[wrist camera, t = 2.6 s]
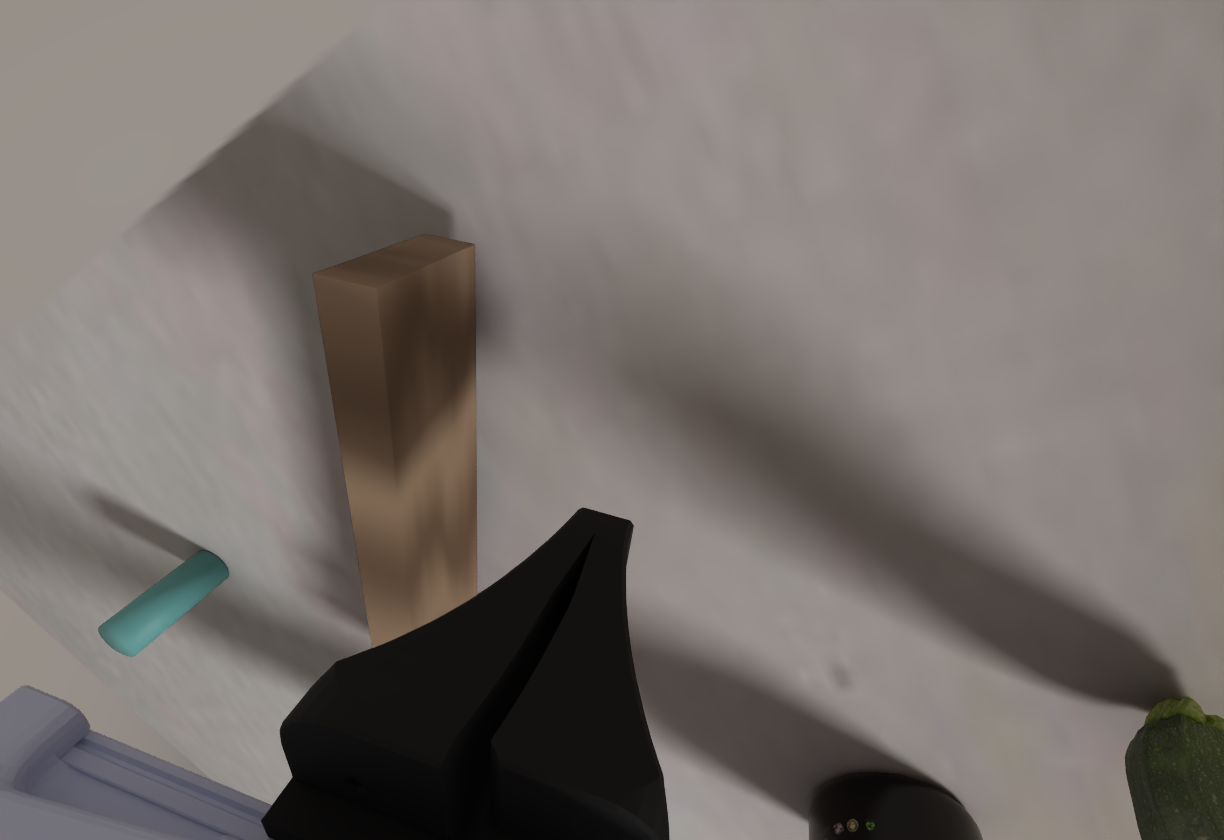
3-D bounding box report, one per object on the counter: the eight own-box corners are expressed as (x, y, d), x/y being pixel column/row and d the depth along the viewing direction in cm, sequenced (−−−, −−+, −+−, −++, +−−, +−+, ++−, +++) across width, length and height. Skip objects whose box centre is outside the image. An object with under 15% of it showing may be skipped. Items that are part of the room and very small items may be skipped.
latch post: (232, 583, 30) (142, 661, 26) (201, 573, 30) (107, 648, 26) (223, 556, 29) (127, 633, 25) (191, 546, 29) (92, 620, 25)
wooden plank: (487, 684, 27) (424, 805, 22) (442, 668, 27) (370, 784, 22) (491, 245, 16) (369, 302, 11) (415, 230, 16) (268, 279, 12)
